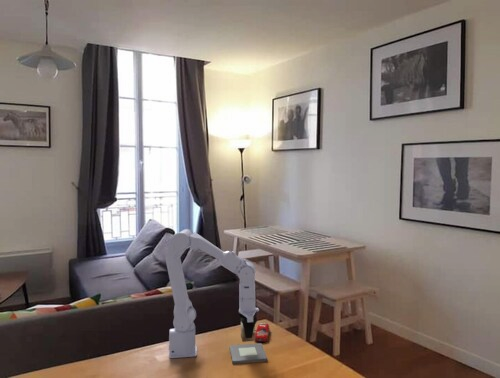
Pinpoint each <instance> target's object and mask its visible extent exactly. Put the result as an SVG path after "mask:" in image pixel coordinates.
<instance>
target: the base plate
mask: <svg viewBox="0 0 500 378" xmlns="http://www.w3.org/2000/svg"><path fill="white" fill-rule="evenodd" d="M262 343H263V342H258V343H257V342H256V343H246V344H245V343H244V344H232V345H229V352H230V357H231V363H232V365H236V364H237V365H238V364H248V363H249V364H251V363H262V362H263V363H264V362H268V356H267V353H266V351H265V349H264V347H263V346H264V345H263V344H262Z"/></svg>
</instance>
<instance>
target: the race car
mask: <svg viewBox="0 0 500 378" xmlns="http://www.w3.org/2000/svg"><path fill="white" fill-rule="evenodd" d="M269 335H270V324H268V323H267V322H265V323H264V322H263V323H262V322H260V323H258V324H257V326H256V328H255V341H254V342H256V343H257V342H258V343H265V342H268V340H269Z"/></svg>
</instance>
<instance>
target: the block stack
mask: <svg viewBox="0 0 500 378" xmlns="http://www.w3.org/2000/svg"><path fill="white" fill-rule="evenodd" d="M255 330H256V325H255V326H254V330H253V335H252V338H246V337H245V332H244V327H243V324H242V322H241V321H240V338H241V341H242V342H243V343H246V342H256V341H255V332H256V331H255Z"/></svg>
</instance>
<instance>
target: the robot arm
mask: <svg viewBox="0 0 500 378" xmlns="http://www.w3.org/2000/svg"><path fill="white" fill-rule="evenodd" d="M188 248H189V251H191V250H201V251H203V252H204V253H206V254H208V255H210V256H211V257H213V258H215V259H217V260H218V262H219V264H220V266H222V267H223V268H225V269H227V270H229V271H230V272H231V273H233V274H235V275H237V276H238V279H239V285H238V286H239V287H238V292H239V293H238V294H239V296H238V301H239V302H238V303H239V304H238V305H239V309H238V313H237V314H238V316H240V317H239V318H240V323H241V322H242V324H243V327H244V332H245V337H246V338H252V335H253V330H254V326H255V327H256V324H257V322H258V318H257V317H255V314H256V313H257V312H260V309H259V307H256V278H255V277H256V271H257V270H256V265H255V264H254V263H253V262H252V261H250V260H248V259H245V258H244V259H243V258H241V256H238V255H237V254H236V252H235V251H233V250H232V251H230V250H226V251H224V250H222V249H220V248H219V247H217V246H216V245H215V244H213V243H212V242H210V241H209V240H207V239H206V238H204V237H203V236H202V235H200V234H198V233H197V232H193V230H191V229H188V228H185V229H182V230H181V231H179V232H176V233H175V234H174V235H173V236H172V237H171V239H169V241H168V246H167V249H166V252H165V254H164V259H165V264H166V267H167V273H168V278H169V282H170V289H171V294H172V298H173V302H174V308H173V317H174V318H173V321H172V324H173V327H174V328H170V329H169V335H168V351H169V359H175V358H176V359H178V358H180V359H181V358H193V357H194V358H195V357H197V356H198V351H197V350H198V347H197V345H196V325H195V323H194V321H195V319H196V318H197V311H196V309H195V308H194V307H193V304H192V301H191V300H190V298H189V294H188V289H187V284H186V279H185V274H184V269H183V264H182V259H181V257H182V255H184V253H185V252H186V250H187V249H188Z"/></svg>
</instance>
